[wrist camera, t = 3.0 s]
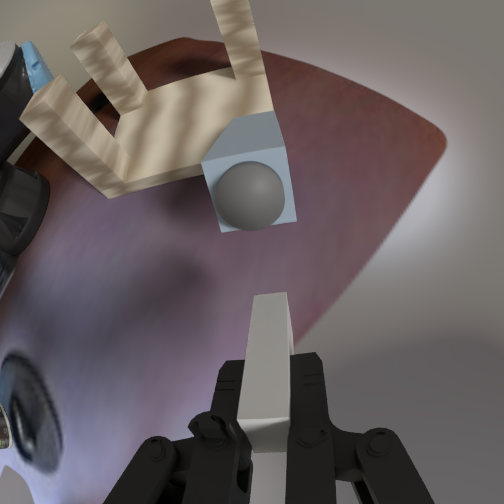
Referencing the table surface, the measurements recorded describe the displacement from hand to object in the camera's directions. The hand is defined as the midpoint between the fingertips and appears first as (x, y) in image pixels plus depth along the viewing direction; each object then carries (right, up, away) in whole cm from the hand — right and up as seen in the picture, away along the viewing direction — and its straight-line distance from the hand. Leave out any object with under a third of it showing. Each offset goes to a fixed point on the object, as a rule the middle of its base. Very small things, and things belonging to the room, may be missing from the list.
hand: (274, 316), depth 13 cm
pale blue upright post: (0, +15, +12) cm, 19 cm away
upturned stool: (-9, +20, +20) cm, 30 cm away
